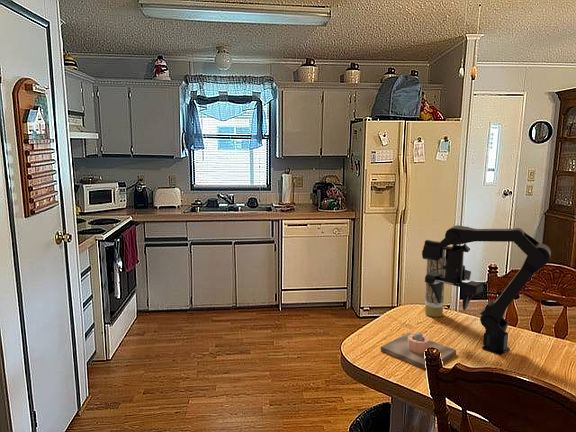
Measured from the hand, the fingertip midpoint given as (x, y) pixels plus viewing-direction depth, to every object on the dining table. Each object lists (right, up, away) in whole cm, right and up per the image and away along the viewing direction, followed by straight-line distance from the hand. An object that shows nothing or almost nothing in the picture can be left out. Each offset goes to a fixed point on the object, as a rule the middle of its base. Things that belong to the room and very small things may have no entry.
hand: (451, 306), depth 154 cm
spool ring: (-14, -12, -8) cm, 20 cm away
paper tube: (+2, -8, +24) cm, 26 cm away
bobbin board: (-14, -14, -8) cm, 21 cm away
